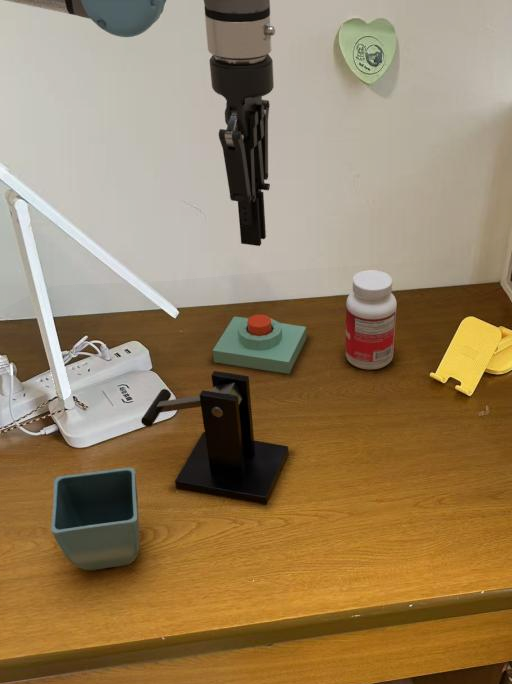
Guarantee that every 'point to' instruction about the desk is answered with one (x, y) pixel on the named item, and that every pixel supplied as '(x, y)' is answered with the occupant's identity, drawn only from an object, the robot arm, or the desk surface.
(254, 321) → the button
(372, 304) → the pill bottle
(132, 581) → the desk surface
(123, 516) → the flower pot
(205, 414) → the bracket
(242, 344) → the button box
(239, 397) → the lever
